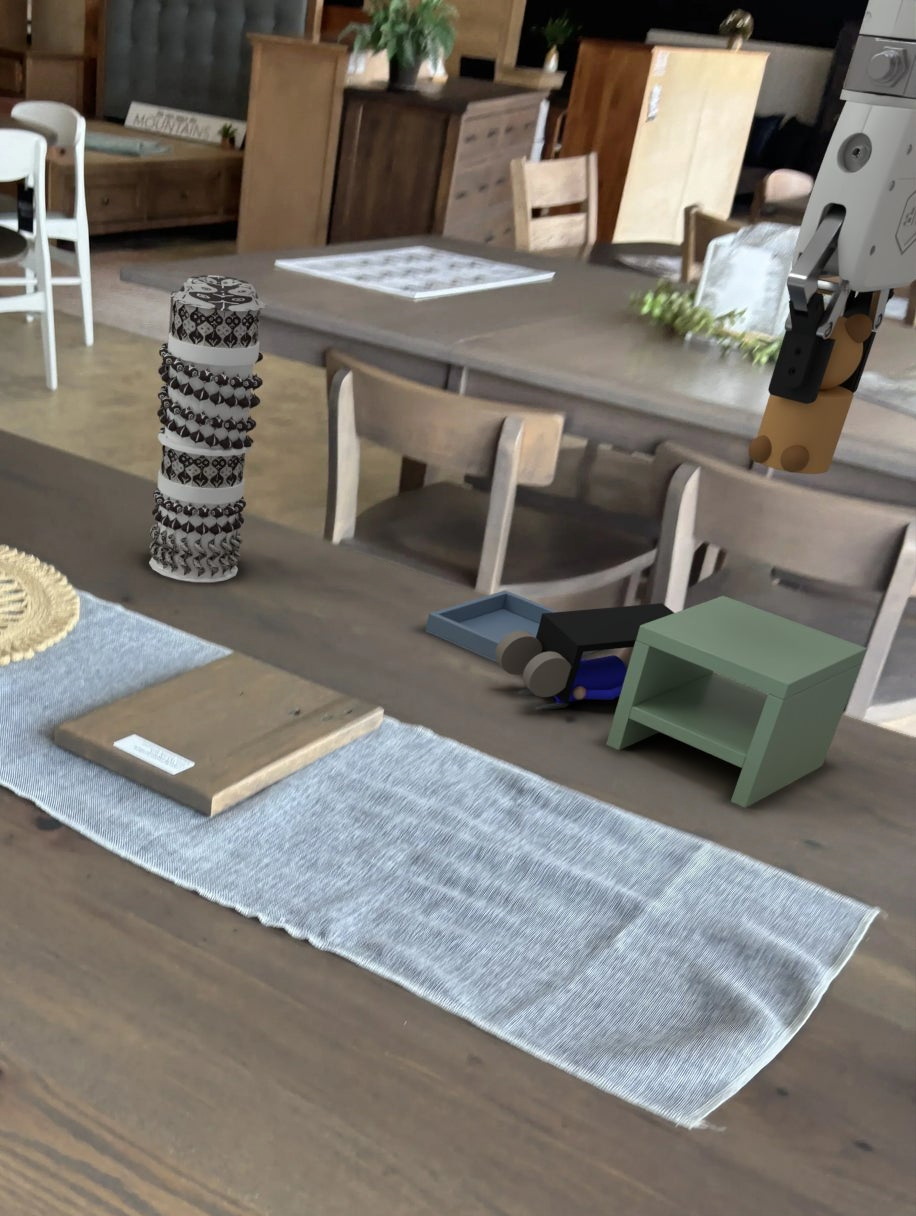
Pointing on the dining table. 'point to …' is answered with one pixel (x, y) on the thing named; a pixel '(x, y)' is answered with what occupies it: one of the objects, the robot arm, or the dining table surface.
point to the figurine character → (576, 652)
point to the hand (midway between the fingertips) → (812, 391)
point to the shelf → (738, 691)
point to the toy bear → (813, 410)
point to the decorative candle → (205, 428)
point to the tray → (487, 621)
